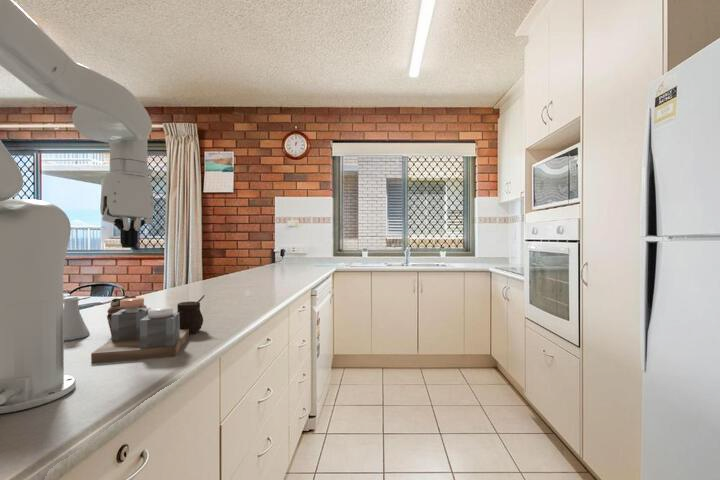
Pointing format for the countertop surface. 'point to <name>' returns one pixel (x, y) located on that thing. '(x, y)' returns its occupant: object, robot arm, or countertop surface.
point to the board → (141, 337)
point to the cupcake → (117, 309)
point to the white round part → (160, 312)
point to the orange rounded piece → (131, 304)
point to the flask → (73, 320)
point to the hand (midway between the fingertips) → (128, 247)
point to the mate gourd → (190, 316)
